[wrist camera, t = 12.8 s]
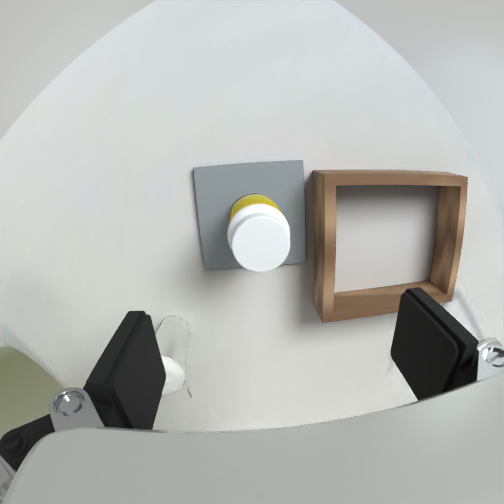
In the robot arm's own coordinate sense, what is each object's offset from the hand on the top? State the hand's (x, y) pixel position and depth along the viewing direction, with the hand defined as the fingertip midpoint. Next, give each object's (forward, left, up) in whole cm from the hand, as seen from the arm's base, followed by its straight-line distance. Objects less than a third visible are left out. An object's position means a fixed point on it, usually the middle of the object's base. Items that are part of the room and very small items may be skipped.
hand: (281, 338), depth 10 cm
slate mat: (0, 0, -19) cm, 19 cm away
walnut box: (-3, -14, -19) cm, 24 cm away
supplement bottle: (0, 0, -19) cm, 19 cm away
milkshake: (-12, +9, -20) cm, 25 cm away
